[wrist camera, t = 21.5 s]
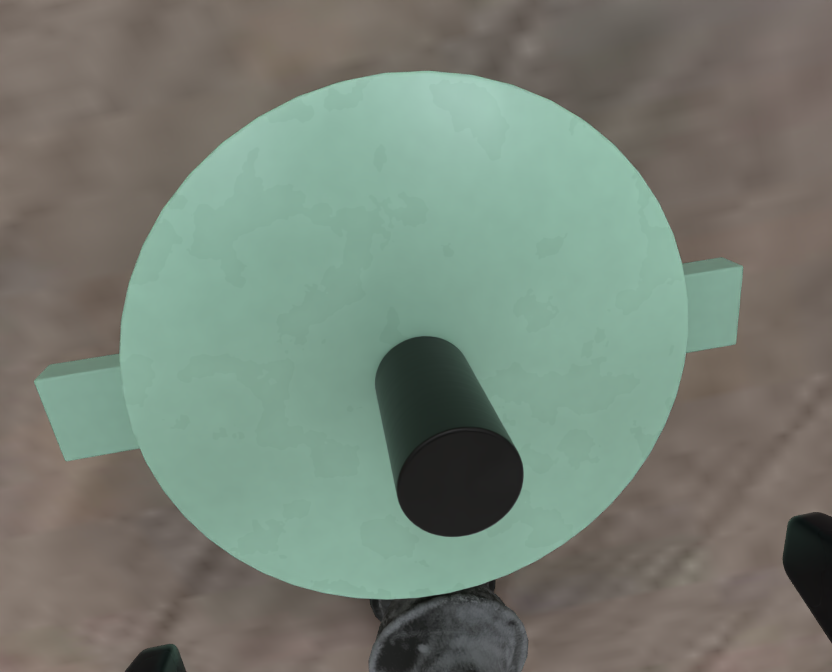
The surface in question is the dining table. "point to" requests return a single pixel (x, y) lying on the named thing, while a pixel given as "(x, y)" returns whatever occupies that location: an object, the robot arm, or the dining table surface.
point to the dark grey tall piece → (448, 633)
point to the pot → (111, 432)
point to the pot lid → (403, 335)
